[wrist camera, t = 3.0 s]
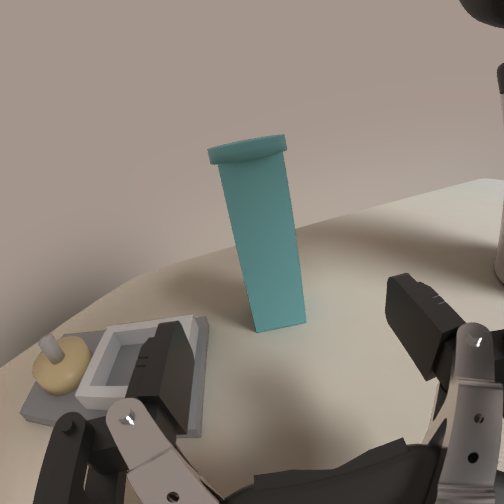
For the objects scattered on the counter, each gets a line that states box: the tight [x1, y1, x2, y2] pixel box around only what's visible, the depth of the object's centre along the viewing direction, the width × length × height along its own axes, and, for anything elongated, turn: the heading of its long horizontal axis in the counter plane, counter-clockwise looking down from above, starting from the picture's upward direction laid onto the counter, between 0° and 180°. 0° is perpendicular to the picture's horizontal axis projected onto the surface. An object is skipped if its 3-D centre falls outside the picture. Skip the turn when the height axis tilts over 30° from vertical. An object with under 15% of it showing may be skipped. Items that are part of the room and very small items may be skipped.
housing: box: [20, 314, 209, 438], centre depth 18 cm, size 16×11×4 cm
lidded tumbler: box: [207, 135, 306, 332], centre depth 21 cm, size 5×5×14 cm
